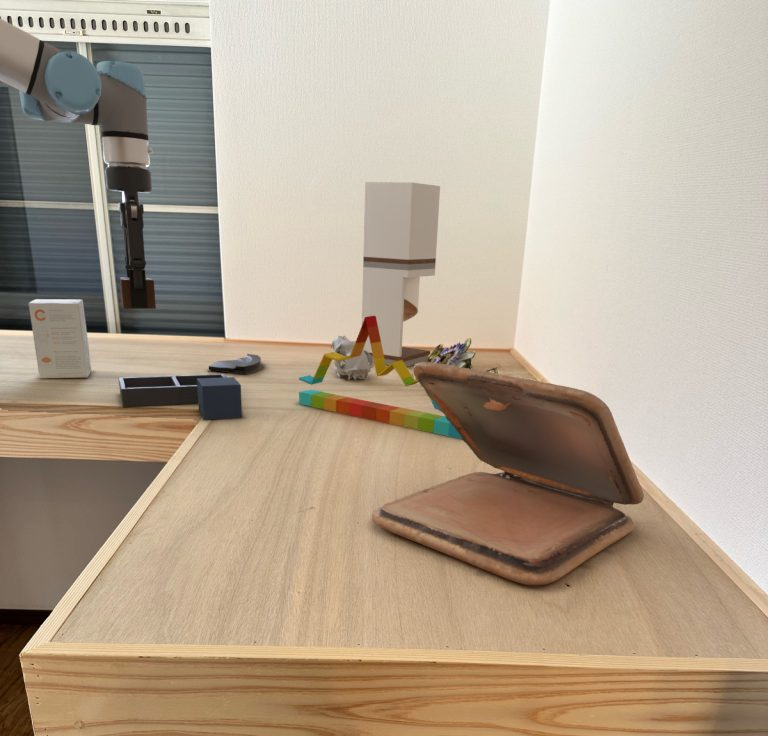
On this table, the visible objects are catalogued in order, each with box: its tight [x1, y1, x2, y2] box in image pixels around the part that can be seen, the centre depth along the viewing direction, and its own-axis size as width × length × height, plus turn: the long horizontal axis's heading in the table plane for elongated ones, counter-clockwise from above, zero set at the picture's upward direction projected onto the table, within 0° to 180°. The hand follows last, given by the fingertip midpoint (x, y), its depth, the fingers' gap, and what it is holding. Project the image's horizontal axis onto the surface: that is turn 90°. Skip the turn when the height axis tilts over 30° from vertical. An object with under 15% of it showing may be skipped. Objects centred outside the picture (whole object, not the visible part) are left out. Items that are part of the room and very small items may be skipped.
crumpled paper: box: [330, 335, 375, 381], centre depth 139 cm, size 8×9×12 cm
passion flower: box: [427, 337, 499, 374], centre depth 126 cm, size 11×11×12 cm
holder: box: [118, 373, 228, 408], centre depth 118 cm, size 17×9×3 cm, turn 111°
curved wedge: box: [208, 353, 262, 375], centre depth 144 cm, size 8×14×2 cm, turn 162°
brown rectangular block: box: [118, 276, 157, 310], centre depth 134 cm, size 6×6×5 cm
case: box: [371, 361, 645, 586], centre depth 70 cm, size 20×21×16 cm
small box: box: [27, 298, 92, 379], centre depth 129 cm, size 8×6×13 cm
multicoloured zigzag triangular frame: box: [298, 316, 463, 440], centre depth 108 cm, size 30×3×15 cm, turn 55°
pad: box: [197, 376, 243, 421], centre depth 109 cm, size 6×6×5 cm
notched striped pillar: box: [361, 181, 441, 368], centre depth 151 cm, size 11×11×35 cm
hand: (138, 305), depth 134 cm, fingers closed on brown rectangular block, 6 cm apart
